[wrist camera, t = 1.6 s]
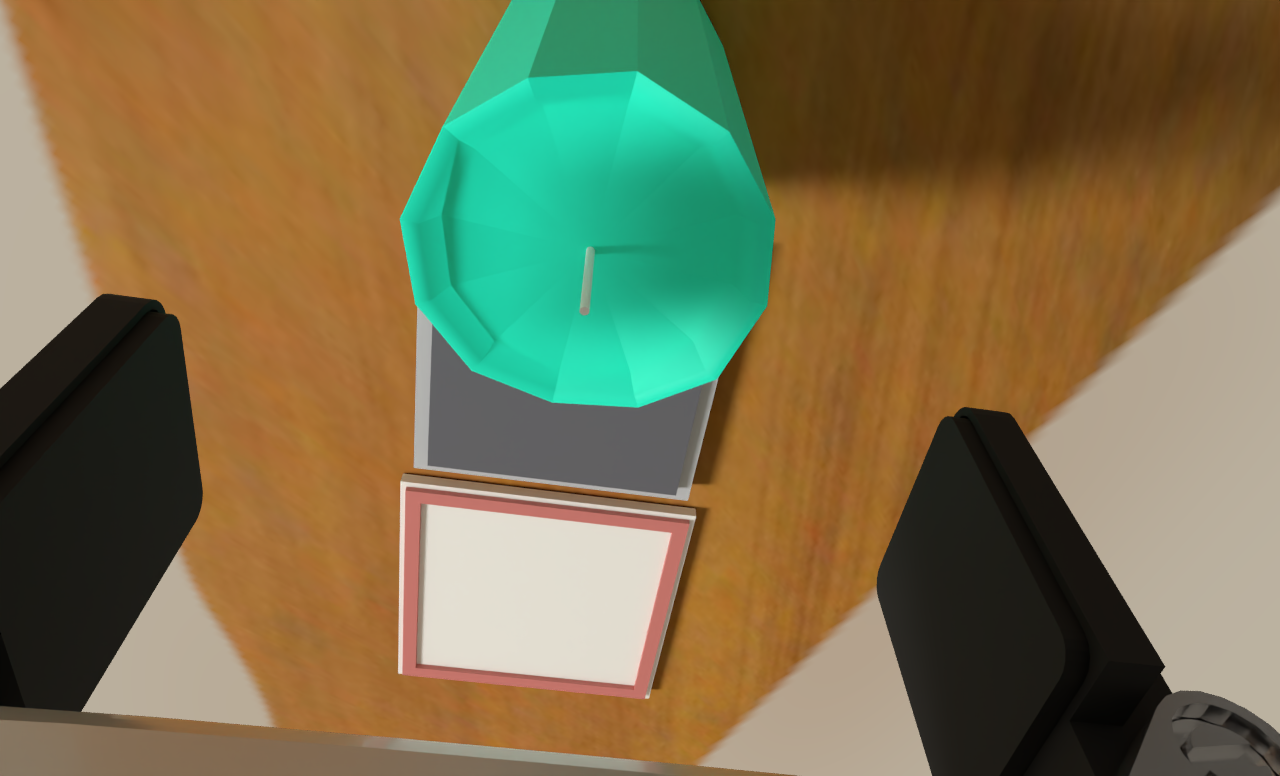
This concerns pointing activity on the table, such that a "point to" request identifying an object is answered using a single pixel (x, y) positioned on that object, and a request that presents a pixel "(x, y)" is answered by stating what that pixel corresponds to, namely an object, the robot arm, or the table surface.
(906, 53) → the table surface
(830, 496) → the table surface
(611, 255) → the candle
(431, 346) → the ink pad
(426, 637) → the marked card
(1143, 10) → the table surface
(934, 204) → the table surface
